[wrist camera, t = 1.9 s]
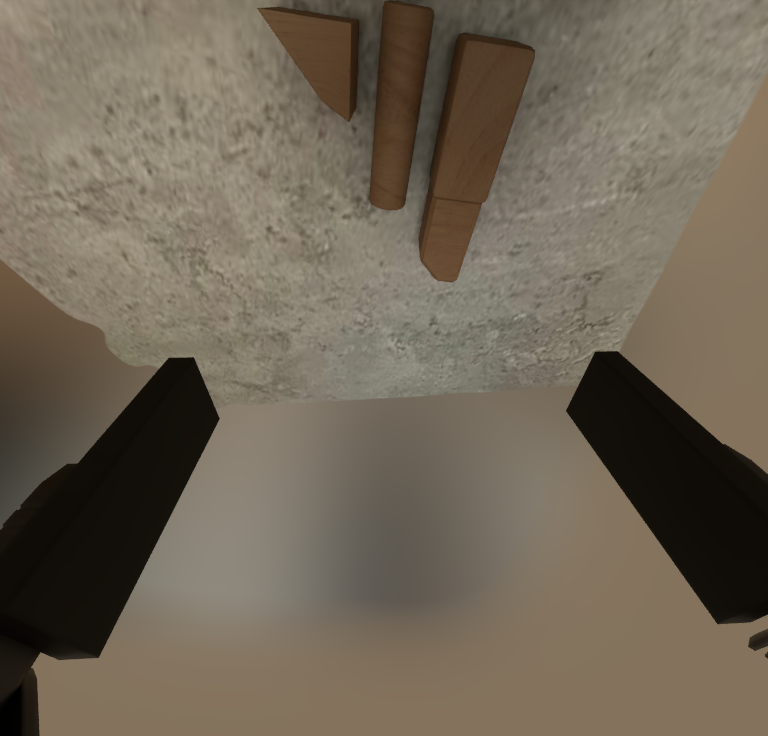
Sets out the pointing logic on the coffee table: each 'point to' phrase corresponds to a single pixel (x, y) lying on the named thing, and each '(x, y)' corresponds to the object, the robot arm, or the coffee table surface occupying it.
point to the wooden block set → (401, 110)
